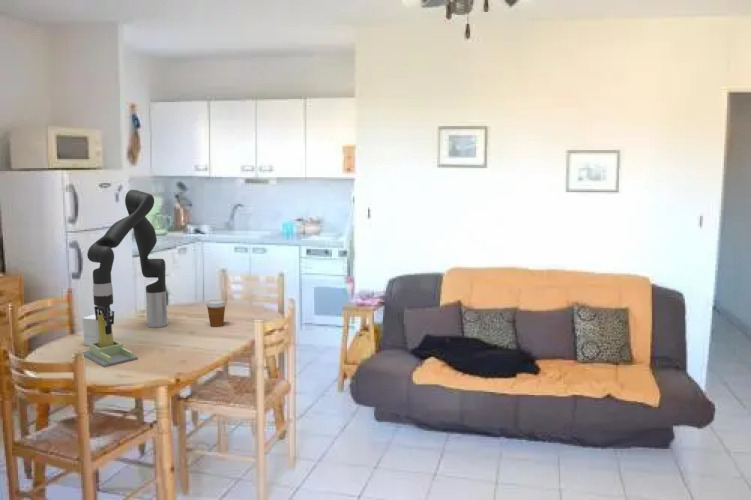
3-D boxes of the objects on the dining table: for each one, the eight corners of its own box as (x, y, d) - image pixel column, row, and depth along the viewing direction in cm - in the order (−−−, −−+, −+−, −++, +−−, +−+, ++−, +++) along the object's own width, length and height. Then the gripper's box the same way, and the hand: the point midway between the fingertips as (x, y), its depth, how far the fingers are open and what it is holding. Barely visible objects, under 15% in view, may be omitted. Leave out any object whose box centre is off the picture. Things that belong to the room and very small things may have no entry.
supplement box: (109, 342, 297) (107, 315, 295) (97, 347, 290) (95, 319, 288) (95, 340, 299) (94, 313, 297) (83, 345, 292) (82, 317, 290)
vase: (101, 344, 281) (99, 311, 279) (115, 343, 281) (113, 311, 279) (96, 348, 275) (94, 315, 273) (111, 348, 275) (109, 315, 273)
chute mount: (81, 354, 279) (81, 343, 279) (114, 347, 289) (113, 336, 288) (104, 367, 264) (103, 355, 263) (137, 359, 274) (137, 347, 273)
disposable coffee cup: (202, 326, 324) (202, 302, 322) (214, 321, 332) (213, 298, 330) (219, 328, 320) (218, 304, 318) (230, 323, 329) (229, 300, 327)
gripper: (86, 291, 277) (89, 330, 280) (101, 297, 267) (104, 337, 270) (104, 289, 282) (106, 327, 285) (119, 294, 272) (121, 334, 275)
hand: (105, 332), depth 277 cm, fingers closed on vase, 5 cm apart
